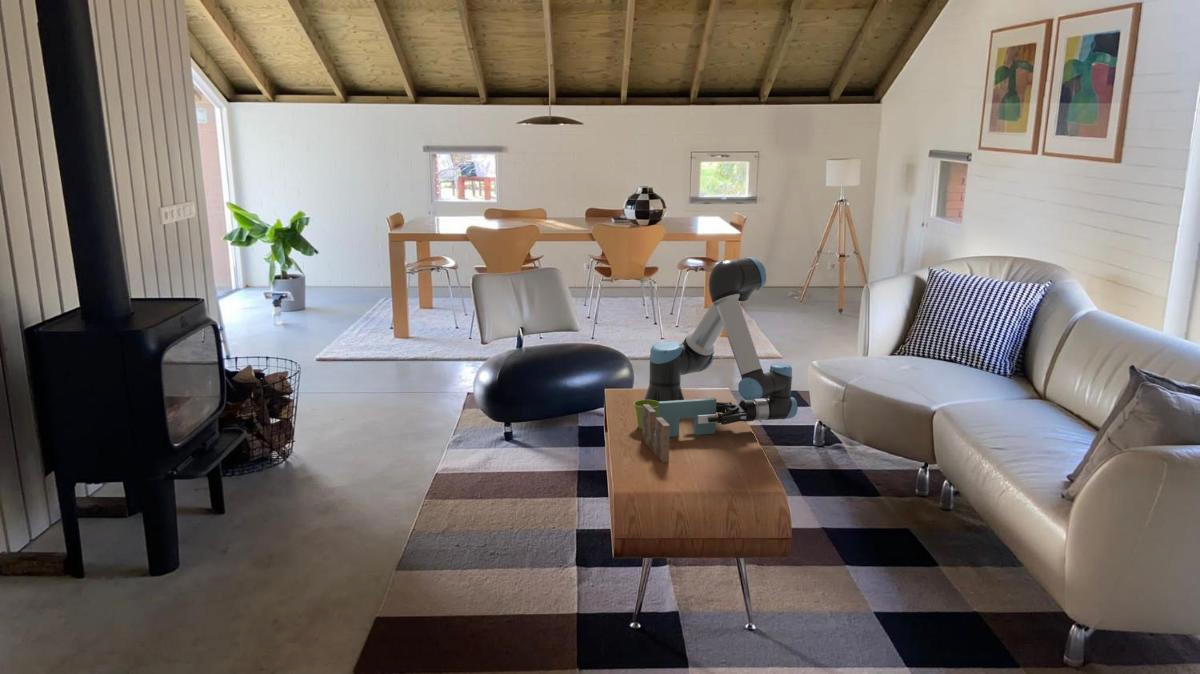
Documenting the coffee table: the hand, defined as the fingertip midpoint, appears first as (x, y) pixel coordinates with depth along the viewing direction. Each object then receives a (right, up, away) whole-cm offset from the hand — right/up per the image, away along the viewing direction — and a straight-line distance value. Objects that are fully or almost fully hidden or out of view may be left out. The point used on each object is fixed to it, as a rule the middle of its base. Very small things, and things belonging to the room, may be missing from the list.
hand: (692, 414), depth 284 cm
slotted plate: (-2, -7, +1) cm, 7 cm away
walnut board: (-14, -10, -14) cm, 22 cm away
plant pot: (-15, -5, +8) cm, 18 cm away
